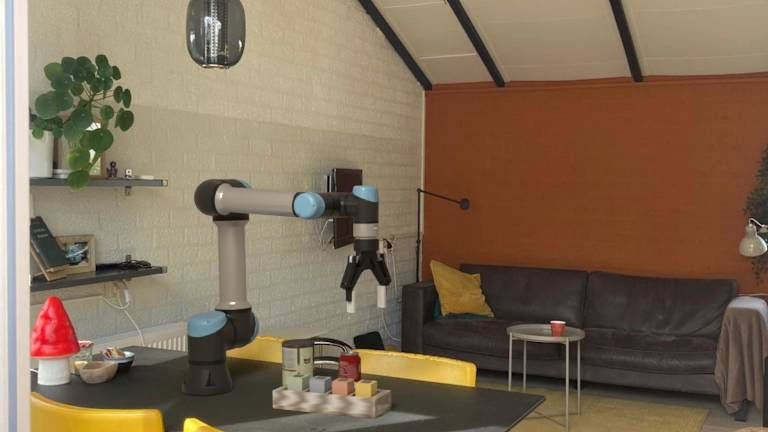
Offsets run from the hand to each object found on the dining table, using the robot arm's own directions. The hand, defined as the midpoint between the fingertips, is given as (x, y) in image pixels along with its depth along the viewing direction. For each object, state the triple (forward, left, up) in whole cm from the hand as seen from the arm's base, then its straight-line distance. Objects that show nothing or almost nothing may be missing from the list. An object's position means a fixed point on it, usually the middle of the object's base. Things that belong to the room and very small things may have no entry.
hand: (366, 310), depth 249 cm
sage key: (-15, -16, -22) cm, 31 cm away
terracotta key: (-1, -15, -22) cm, 27 cm away
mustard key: (+6, -15, -22) cm, 28 cm away
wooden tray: (-4, -15, -26) cm, 30 cm away
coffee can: (-25, +5, -26) cm, 36 cm away
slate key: (-8, -16, -22) cm, 28 cm away
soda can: (-7, +4, -26) cm, 27 cm away
